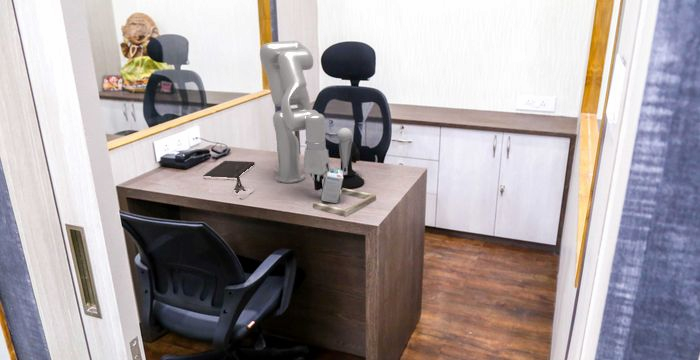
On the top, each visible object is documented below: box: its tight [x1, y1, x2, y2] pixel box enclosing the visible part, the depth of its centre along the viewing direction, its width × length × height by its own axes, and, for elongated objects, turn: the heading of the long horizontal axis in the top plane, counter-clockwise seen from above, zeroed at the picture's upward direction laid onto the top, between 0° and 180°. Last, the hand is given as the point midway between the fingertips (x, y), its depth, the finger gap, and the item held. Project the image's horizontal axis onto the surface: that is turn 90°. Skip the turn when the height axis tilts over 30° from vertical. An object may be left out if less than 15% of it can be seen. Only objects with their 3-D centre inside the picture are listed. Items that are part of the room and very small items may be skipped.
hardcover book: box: [202, 160, 256, 178], centre depth 247 cm, size 16×23×2 cm
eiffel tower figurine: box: [233, 166, 246, 193], centre depth 217 cm, size 15×10×13 cm
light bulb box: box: [321, 167, 343, 204], centre depth 208 cm, size 11×7×11 cm, turn 3°
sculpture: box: [337, 127, 365, 190], centre depth 226 cm, size 15×24×25 cm, turn 167°
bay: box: [312, 188, 377, 218], centre depth 204 cm, size 16×20×2 cm
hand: (318, 189), depth 210 cm, fingers closed
